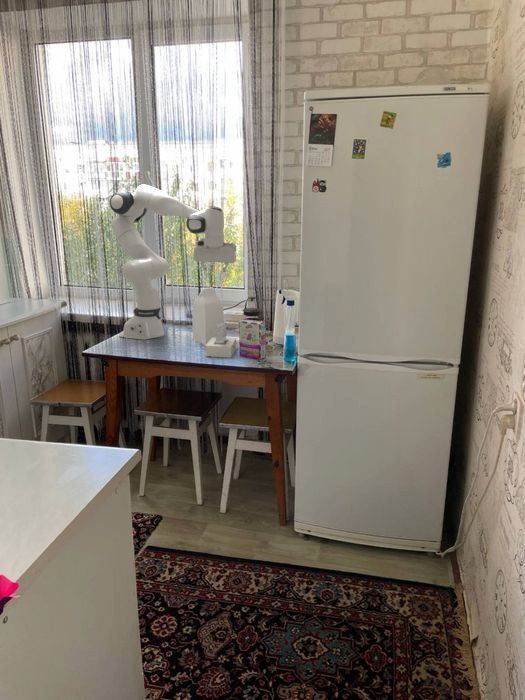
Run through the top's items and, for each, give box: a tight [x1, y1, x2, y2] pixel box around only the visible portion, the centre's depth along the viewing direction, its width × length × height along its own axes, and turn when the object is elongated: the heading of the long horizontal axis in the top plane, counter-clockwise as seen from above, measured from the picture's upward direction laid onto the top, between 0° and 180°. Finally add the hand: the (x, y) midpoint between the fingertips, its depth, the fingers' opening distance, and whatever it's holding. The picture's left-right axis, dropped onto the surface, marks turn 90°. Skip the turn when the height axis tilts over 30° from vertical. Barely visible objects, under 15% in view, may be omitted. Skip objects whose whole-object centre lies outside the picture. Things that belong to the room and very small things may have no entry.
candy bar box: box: [238, 318, 267, 361], centre depth 230 cm, size 11×5×16 cm, turn 59°
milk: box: [192, 287, 225, 346], centre depth 254 cm, size 12×12×26 cm
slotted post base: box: [204, 337, 237, 358], centre depth 238 cm, size 12×14×5 cm
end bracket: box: [216, 322, 227, 345], centre depth 237 cm, size 4×6×13 cm, turn 173°
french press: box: [242, 296, 263, 321], centre depth 247 cm, size 12×9×23 cm
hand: (214, 271), depth 250 cm, fingers open, 8 cm apart
